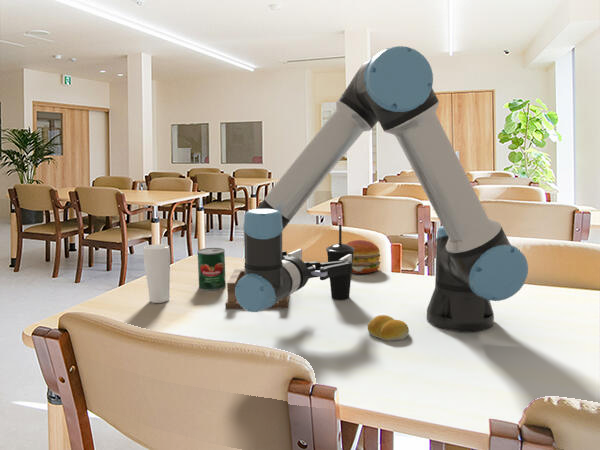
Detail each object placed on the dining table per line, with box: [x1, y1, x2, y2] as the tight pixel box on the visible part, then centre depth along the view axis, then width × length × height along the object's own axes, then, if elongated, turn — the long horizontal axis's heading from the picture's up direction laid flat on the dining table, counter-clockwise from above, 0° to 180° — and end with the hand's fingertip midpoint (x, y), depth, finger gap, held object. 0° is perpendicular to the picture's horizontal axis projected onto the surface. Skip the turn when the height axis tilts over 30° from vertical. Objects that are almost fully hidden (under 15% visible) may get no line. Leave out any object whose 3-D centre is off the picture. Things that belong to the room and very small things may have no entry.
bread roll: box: [367, 314, 410, 342], centre depth 116 cm, size 8×9×4 cm
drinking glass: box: [143, 243, 171, 304], centre depth 140 cm, size 7×7×15 cm
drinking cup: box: [325, 224, 355, 301], centre depth 141 cm, size 8×8×20 cm
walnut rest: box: [224, 268, 290, 310], centre depth 142 cm, size 16×16×6 cm
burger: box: [346, 239, 382, 274], centre depth 170 cm, size 13×14×10 cm
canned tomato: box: [196, 247, 227, 292], centre depth 153 cm, size 8×8×11 cm
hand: (324, 256), depth 132 cm, fingers open, 13 cm apart
